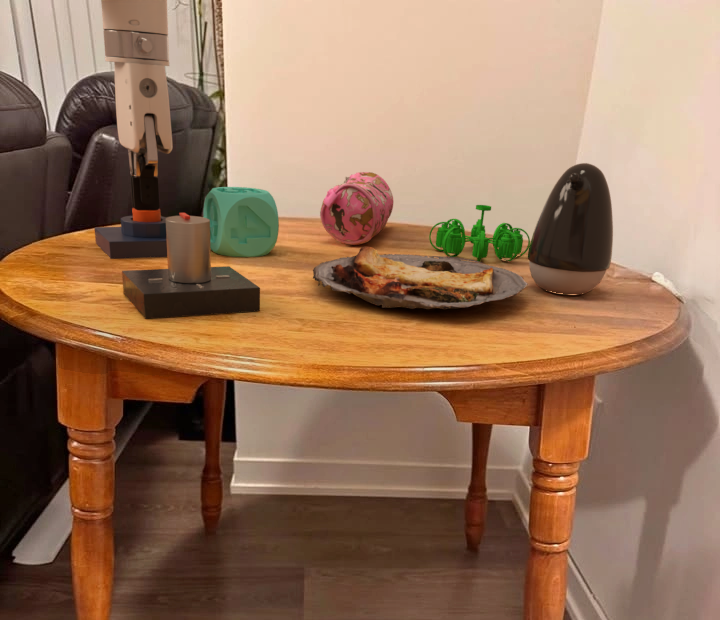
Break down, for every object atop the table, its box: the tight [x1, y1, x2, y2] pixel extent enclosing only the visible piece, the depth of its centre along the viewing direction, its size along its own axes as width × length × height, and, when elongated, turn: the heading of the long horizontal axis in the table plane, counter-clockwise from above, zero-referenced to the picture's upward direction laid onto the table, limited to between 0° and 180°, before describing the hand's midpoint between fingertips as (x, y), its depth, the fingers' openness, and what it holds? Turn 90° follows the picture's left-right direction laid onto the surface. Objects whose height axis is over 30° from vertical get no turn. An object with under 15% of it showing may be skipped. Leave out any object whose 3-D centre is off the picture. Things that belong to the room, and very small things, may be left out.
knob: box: [166, 212, 212, 283], centre depth 80 cm, size 4×4×6 cm
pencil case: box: [319, 171, 394, 246], centre depth 123 cm, size 21×9×9 cm, turn 172°
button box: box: [94, 215, 168, 260], centre depth 104 cm, size 12×10×4 cm
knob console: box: [121, 266, 261, 320], centre depth 82 cm, size 12×10×3 cm
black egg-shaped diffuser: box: [526, 162, 614, 295], centre depth 96 cm, size 10×10×15 cm
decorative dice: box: [202, 186, 280, 258], centre depth 106 cm, size 8×8×8 cm
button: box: [131, 207, 162, 222], centre depth 103 cm, size 4×4×2 cm
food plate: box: [312, 246, 529, 310], centre depth 92 cm, size 25×23×4 cm
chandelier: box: [428, 204, 531, 263], centre depth 116 cm, size 15×15×7 cm
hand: (145, 208), depth 102 cm, fingers closed
